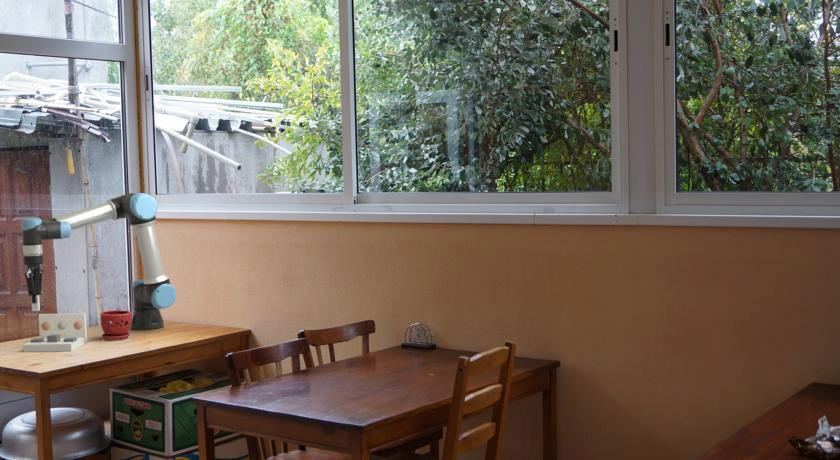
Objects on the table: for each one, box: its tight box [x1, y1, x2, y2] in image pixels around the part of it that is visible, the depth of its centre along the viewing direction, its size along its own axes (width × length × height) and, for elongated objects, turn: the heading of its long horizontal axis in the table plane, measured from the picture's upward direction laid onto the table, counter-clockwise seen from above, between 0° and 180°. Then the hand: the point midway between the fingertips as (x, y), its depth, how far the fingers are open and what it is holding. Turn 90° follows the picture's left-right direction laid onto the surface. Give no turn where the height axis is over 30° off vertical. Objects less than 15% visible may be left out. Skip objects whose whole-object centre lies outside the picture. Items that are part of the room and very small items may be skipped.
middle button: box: [47, 334, 60, 342], centre depth 395 cm, size 4×4×3 cm
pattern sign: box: [38, 312, 88, 342], centre depth 405 cm, size 20×5×13 cm, turn 89°
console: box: [22, 338, 85, 353], centre depth 395 cm, size 20×14×3 cm
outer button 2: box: [30, 337, 44, 343], centre depth 395 cm, size 4×4×3 cm
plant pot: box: [100, 309, 133, 341], centre depth 415 cm, size 13×13×12 cm
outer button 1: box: [64, 337, 77, 342], centre depth 395 cm, size 4×4×3 cm
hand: (36, 310), depth 394 cm, fingers closed
